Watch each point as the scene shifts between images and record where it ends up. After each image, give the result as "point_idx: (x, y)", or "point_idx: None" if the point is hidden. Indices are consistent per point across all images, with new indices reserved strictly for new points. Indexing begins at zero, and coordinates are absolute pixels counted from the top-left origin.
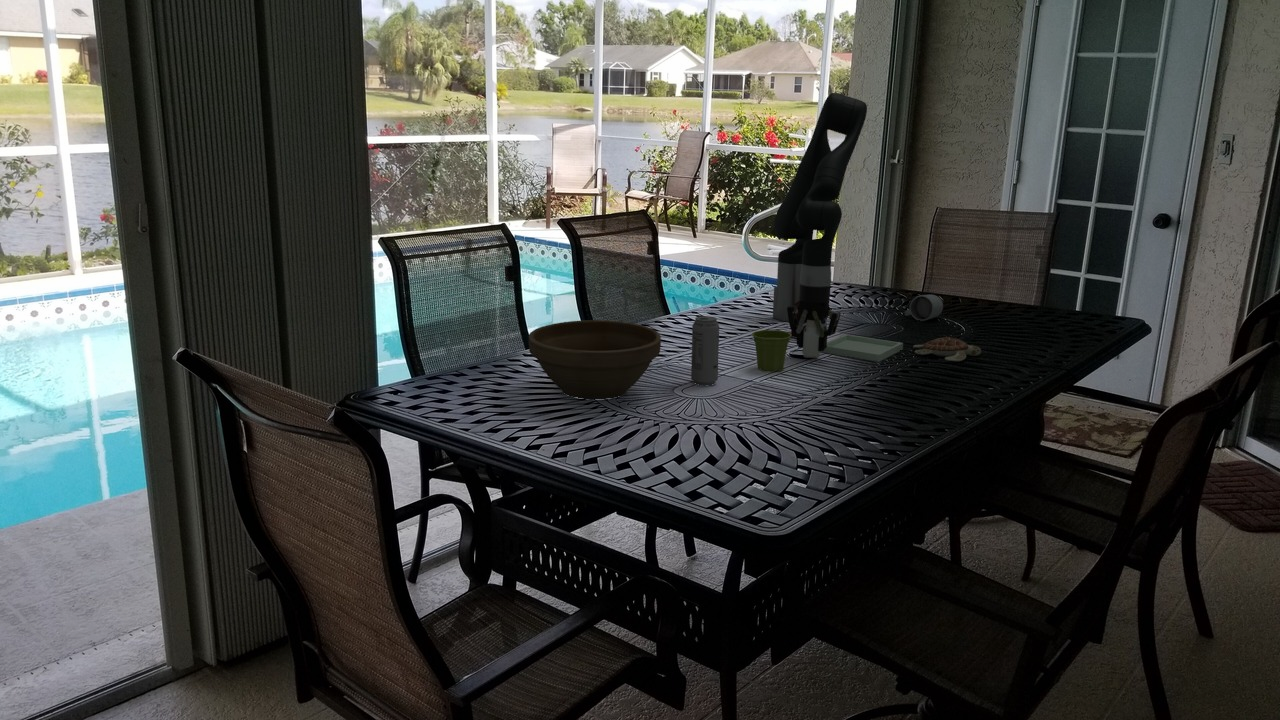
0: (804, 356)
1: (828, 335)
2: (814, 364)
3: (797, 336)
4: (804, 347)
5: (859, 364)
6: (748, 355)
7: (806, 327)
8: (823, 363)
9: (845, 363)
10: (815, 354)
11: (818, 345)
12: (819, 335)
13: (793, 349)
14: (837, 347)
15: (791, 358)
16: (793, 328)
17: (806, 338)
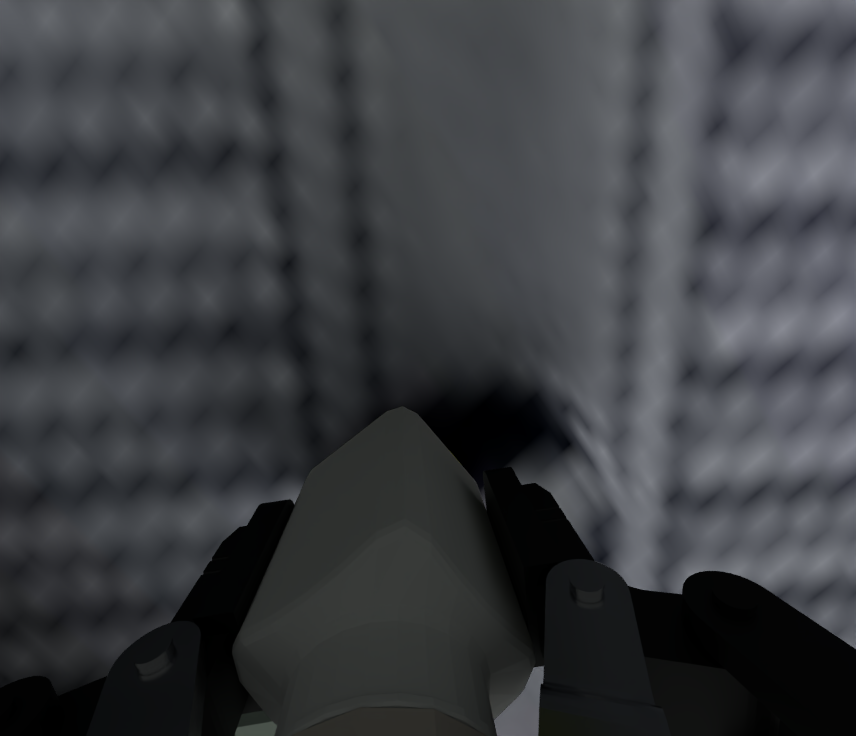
0: (401, 407)
1: (31, 683)
2: (236, 322)
3: (572, 543)
4: (405, 438)
5: (13, 577)
6: (835, 154)
7: (470, 706)
8: (210, 405)
9: (100, 527)
10: (319, 467)
11: (282, 539)
12: (236, 649)
13: (625, 571)
14: None
15: (495, 347)
16: (697, 598)
17: (385, 501)
